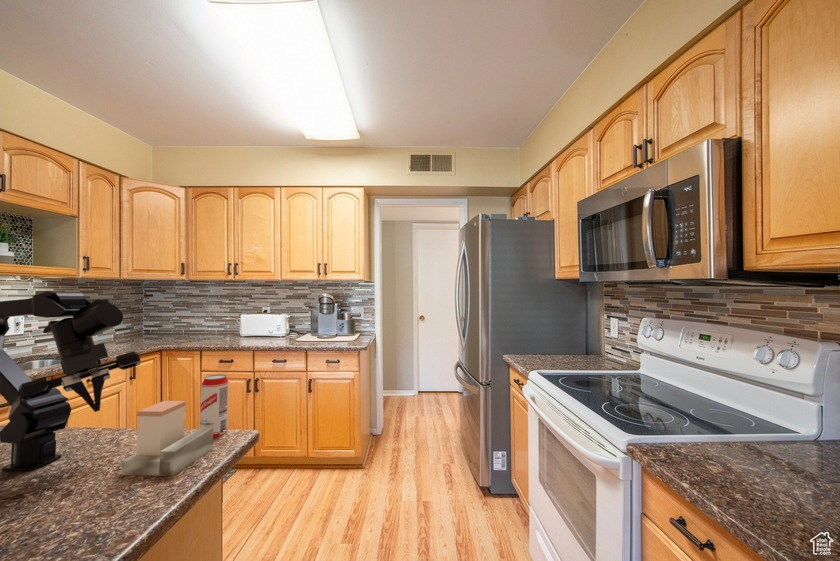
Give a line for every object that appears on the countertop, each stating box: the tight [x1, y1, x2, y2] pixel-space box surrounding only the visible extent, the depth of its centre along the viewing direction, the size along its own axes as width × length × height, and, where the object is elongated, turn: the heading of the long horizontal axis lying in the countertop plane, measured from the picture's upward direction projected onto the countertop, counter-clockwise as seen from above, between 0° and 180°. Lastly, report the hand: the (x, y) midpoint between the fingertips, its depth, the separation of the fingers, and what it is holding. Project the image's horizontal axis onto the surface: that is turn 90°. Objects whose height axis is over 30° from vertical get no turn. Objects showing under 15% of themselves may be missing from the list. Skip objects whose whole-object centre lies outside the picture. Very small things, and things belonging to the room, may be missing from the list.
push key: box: [136, 400, 187, 456], centre depth 75 cm, size 5×7×12 cm
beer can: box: [199, 373, 230, 438], centre depth 90 cm, size 6×6×16 cm
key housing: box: [120, 427, 214, 477], centre depth 75 cm, size 16×18×6 cm
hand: (97, 411), depth 74 cm, fingers closed
